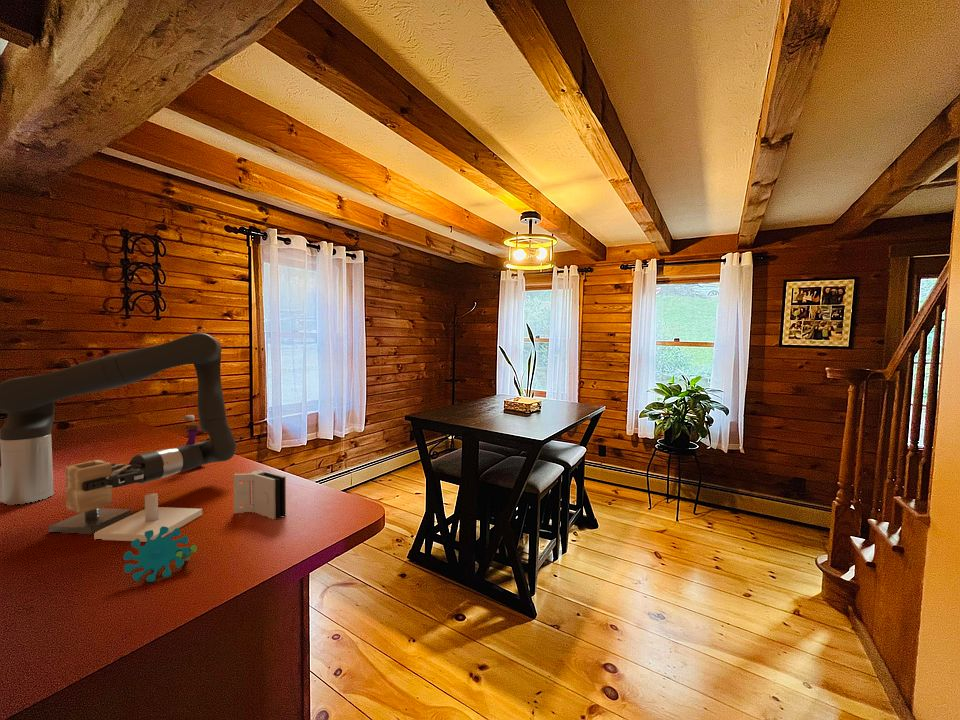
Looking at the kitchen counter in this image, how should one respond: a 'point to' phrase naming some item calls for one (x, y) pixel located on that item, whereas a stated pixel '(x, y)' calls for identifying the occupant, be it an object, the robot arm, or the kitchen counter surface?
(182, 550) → the gear
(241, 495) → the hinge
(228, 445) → the robot arm
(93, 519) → the stand
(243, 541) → the kitchen counter surface
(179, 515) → the board
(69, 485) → the sleeve
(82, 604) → the kitchen counter surface
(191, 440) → the perfume bottle
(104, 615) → the kitchen counter surface
